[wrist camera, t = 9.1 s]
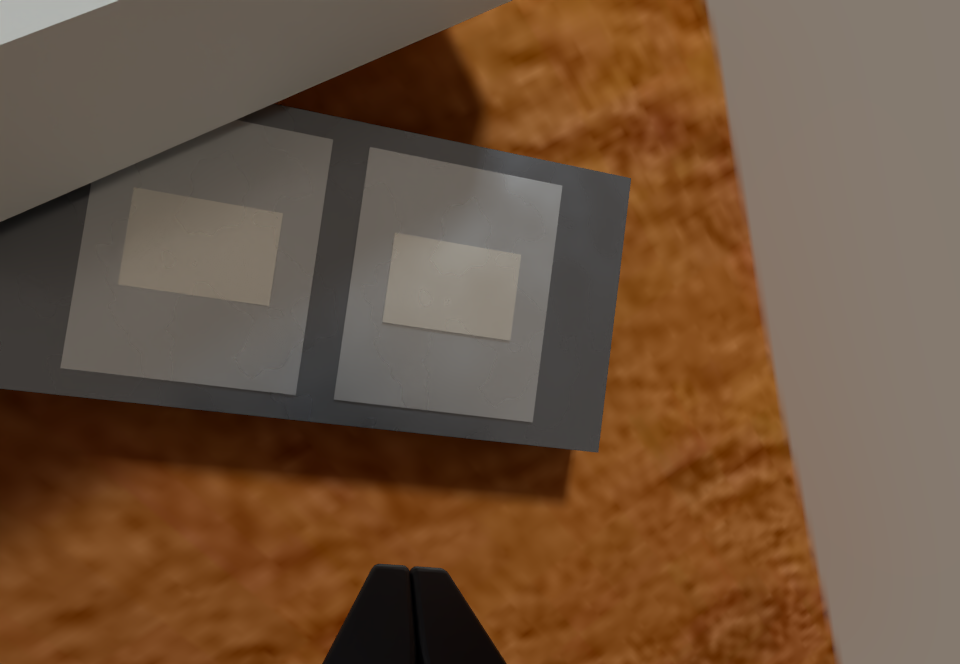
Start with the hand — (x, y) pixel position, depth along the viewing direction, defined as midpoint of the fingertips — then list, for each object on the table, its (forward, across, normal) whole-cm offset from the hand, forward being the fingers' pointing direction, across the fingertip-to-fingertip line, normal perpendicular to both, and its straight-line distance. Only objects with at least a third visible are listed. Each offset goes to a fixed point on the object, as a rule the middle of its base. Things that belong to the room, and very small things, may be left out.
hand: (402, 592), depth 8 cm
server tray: (+17, +4, +2) cm, 18 cm away
